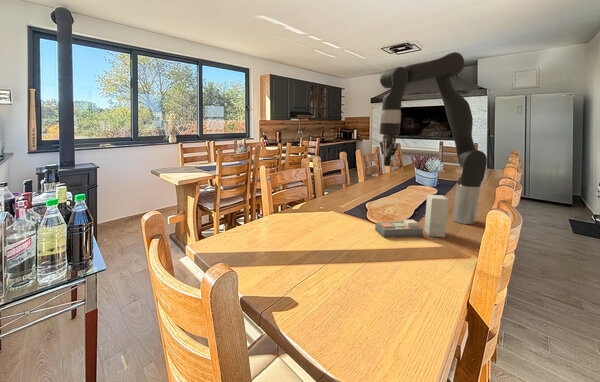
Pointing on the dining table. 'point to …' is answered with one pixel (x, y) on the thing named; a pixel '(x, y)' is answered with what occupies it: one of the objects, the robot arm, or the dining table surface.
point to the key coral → (386, 225)
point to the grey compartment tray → (398, 231)
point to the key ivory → (410, 223)
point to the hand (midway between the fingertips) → (386, 165)
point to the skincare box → (436, 215)
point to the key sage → (398, 225)
